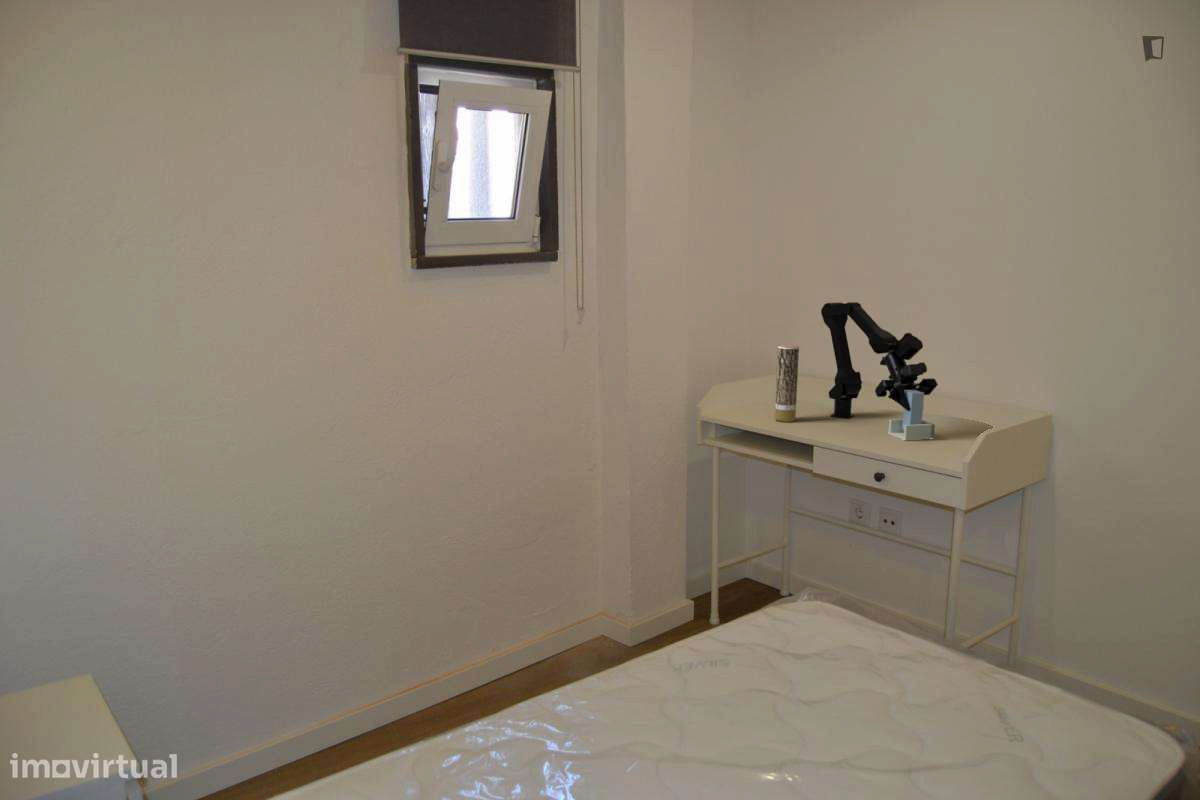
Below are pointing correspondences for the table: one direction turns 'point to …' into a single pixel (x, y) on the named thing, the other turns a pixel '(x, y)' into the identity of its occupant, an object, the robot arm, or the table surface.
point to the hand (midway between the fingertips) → (915, 410)
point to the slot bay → (911, 430)
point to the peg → (913, 408)
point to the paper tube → (786, 383)
